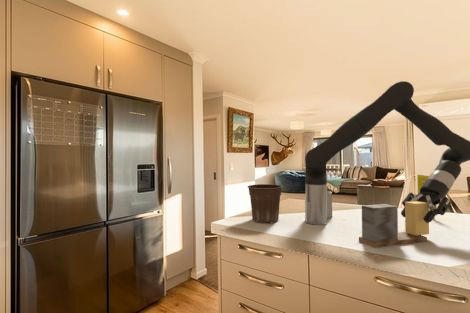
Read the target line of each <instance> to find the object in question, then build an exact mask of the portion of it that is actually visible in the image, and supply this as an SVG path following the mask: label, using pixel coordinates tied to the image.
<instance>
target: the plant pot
mask: <svg viewBox="0 0 470 313" xmlns="http://www.w3.org/2000/svg"><path fill="white" fill-rule="evenodd" d="M247 188H248V194H249V199H250V206H251V219H252V221H253V222H255V223H258V224H267V223H270V224H273V223H277V222H278V221H279V215H280V202H281V196H282V188H283V185H280V184H265V183H264V184H252V185H251V184H250V185H248V186H247Z"/></svg>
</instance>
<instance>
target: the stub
mask: <svg viewBox="0 0 470 313" xmlns="http://www.w3.org/2000/svg"><path fill="white" fill-rule="evenodd" d="M428 211H429V205H428V203H426V202H419V201H413V202H405V217H404V218H405V220H404V223H405V225H404V226H405V229H404V232H405V233H409V234H412V235H415V236H417V235H422V236H425V235H429V234H430V222H429V223H426V222H425V221H424V217H425V215H426V214H427V213H428Z"/></svg>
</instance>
